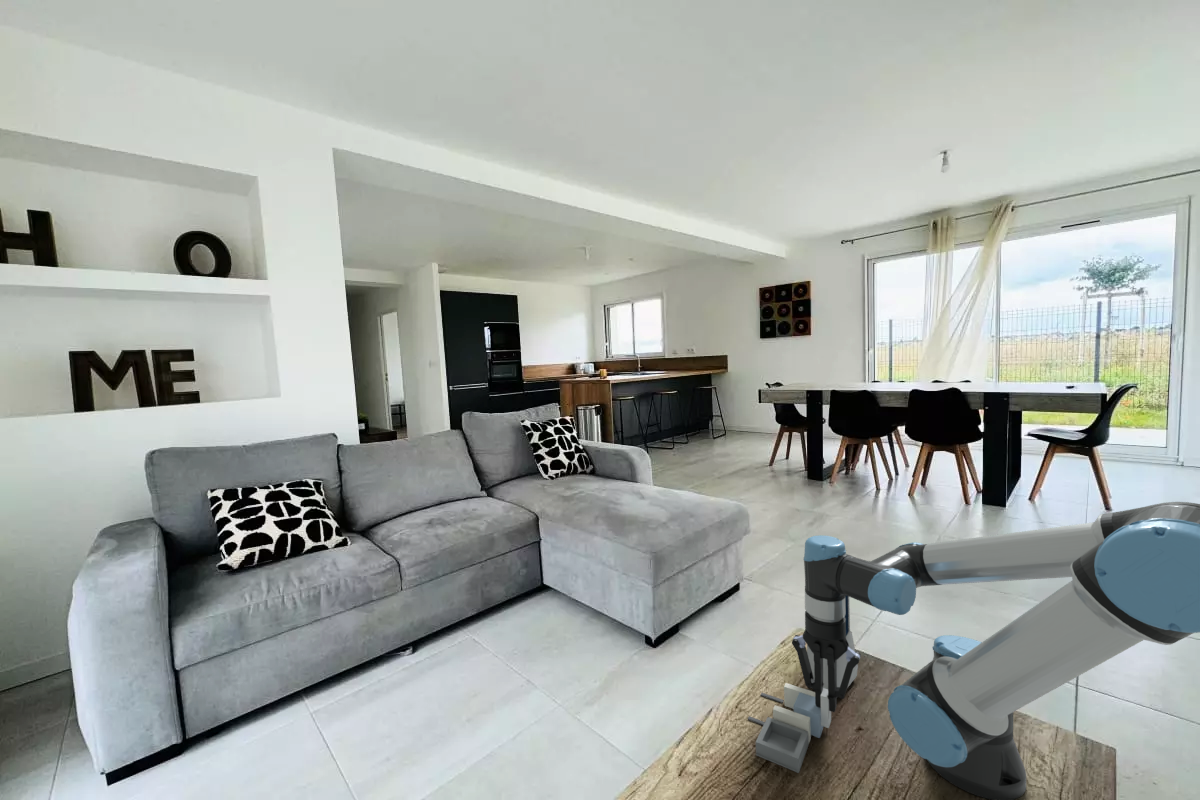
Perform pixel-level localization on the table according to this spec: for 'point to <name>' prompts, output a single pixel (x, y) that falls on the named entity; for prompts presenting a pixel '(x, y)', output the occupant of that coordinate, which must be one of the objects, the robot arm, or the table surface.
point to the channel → (789, 701)
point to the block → (809, 712)
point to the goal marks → (769, 698)
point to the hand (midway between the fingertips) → (826, 722)
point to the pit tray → (782, 744)
